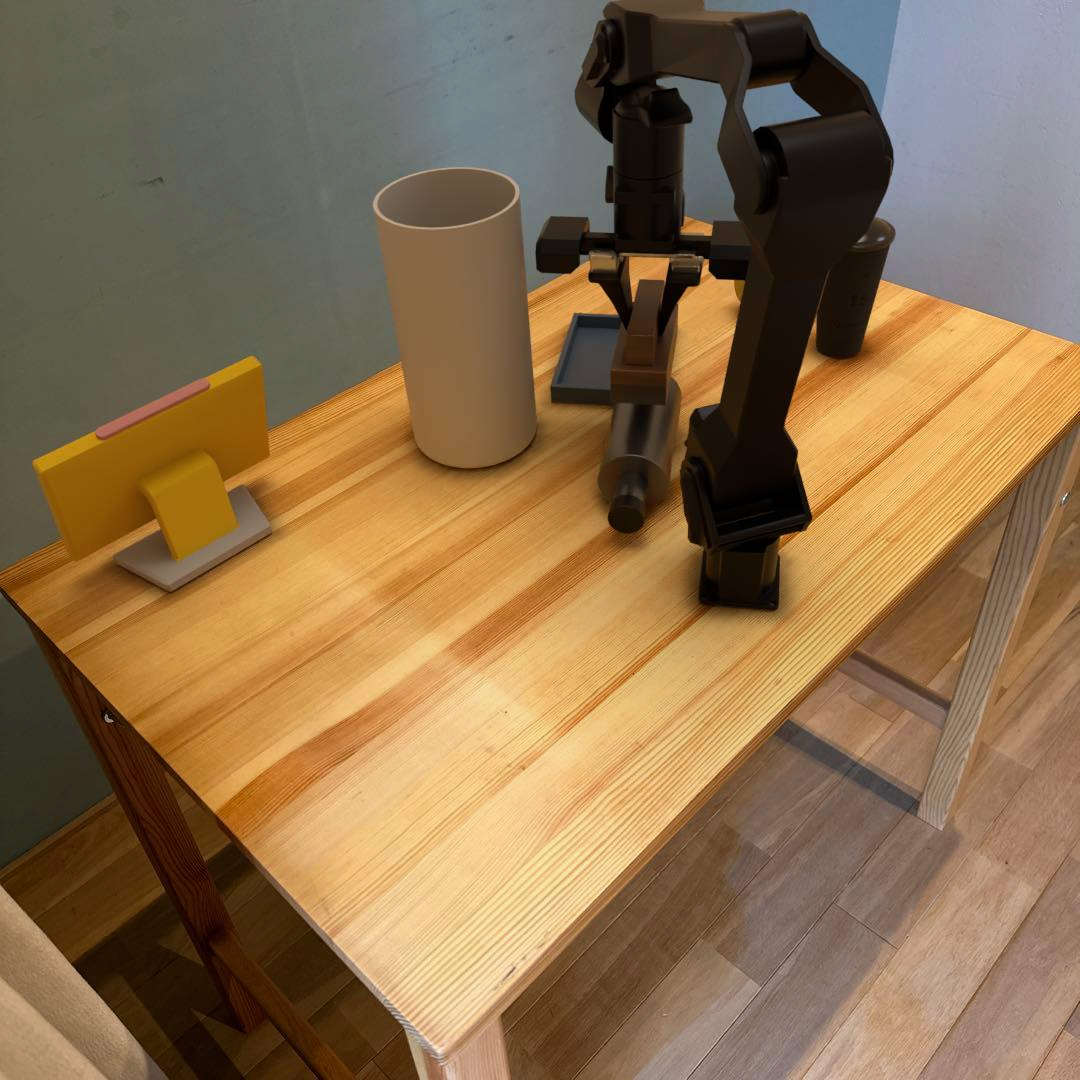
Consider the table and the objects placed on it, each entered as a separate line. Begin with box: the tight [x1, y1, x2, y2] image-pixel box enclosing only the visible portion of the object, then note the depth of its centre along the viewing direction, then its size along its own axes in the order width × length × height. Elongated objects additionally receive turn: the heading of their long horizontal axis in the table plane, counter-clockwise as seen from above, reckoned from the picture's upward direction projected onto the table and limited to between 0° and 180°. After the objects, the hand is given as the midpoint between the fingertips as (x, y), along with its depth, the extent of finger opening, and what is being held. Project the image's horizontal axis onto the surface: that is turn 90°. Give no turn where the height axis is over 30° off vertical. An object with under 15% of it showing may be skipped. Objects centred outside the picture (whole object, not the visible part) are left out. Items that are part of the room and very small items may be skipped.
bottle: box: [596, 376, 683, 535], centre depth 93 cm, size 6×19×6 cm, turn 169°
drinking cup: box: [815, 216, 897, 360], centre depth 103 cm, size 8×8×20 cm
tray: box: [549, 312, 622, 407], centre depth 109 cm, size 15×11×2 cm
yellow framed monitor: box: [31, 355, 273, 593], centre depth 87 cm, size 20×8×16 cm, turn 134°
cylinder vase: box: [372, 166, 538, 469], centre depth 94 cm, size 12×12×25 cm
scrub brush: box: [610, 278, 679, 406], centre depth 93 cm, size 12×5×6 cm, turn 169°
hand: (645, 333), depth 92 cm, fingers closed on scrub brush, 2 cm apart
